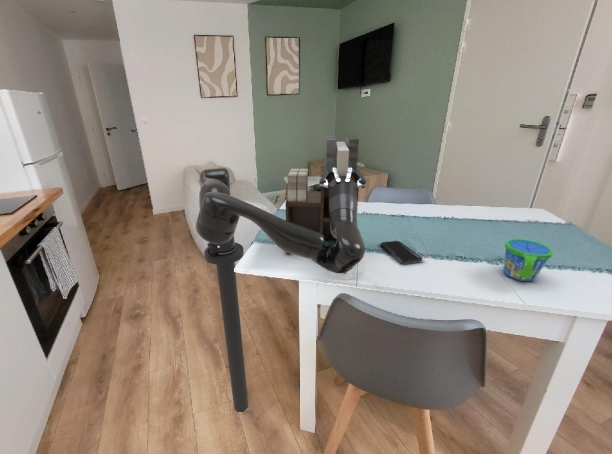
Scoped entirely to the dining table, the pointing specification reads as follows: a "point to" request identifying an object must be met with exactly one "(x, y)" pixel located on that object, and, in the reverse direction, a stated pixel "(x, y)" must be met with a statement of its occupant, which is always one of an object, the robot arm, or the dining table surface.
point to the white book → (342, 158)
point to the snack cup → (525, 259)
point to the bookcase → (316, 192)
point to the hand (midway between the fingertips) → (341, 162)
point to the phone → (401, 252)
